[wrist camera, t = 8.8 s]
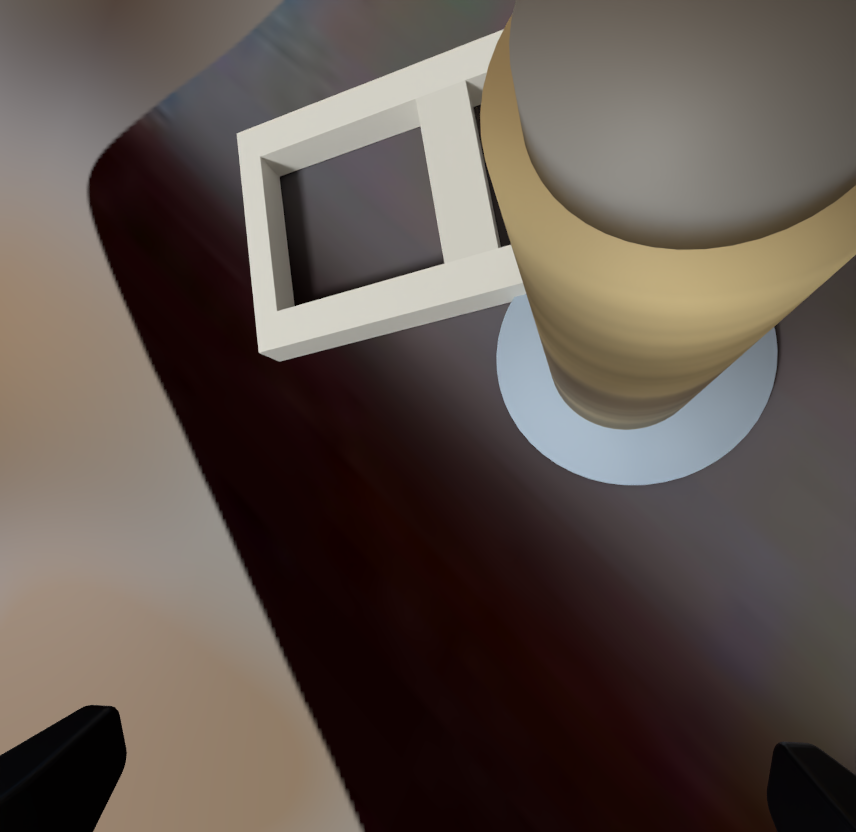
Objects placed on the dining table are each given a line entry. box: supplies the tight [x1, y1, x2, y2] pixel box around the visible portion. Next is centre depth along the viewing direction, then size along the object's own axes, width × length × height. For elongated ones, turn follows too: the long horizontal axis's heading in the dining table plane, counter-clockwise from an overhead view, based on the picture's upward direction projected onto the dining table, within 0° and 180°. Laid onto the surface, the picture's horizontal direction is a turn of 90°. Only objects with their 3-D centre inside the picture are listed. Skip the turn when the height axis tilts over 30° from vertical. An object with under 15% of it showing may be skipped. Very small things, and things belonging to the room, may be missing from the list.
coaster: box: [497, 294, 778, 485], centre depth 18 cm, size 9×9×1 cm
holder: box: [237, 29, 526, 362], centre depth 21 cm, size 10×18×2 cm, turn 99°
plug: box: [480, 0, 856, 430], centre depth 12 cm, size 5×5×14 cm
